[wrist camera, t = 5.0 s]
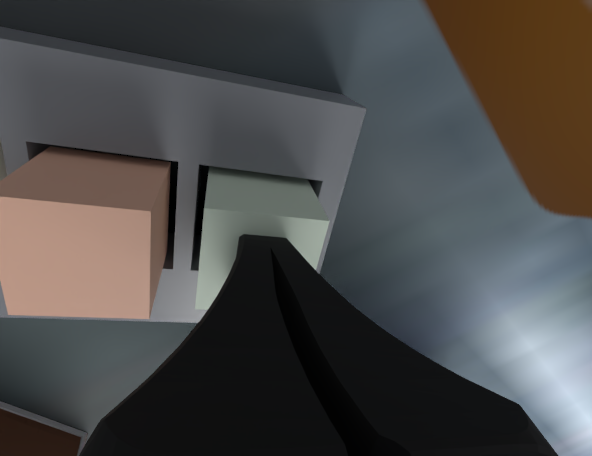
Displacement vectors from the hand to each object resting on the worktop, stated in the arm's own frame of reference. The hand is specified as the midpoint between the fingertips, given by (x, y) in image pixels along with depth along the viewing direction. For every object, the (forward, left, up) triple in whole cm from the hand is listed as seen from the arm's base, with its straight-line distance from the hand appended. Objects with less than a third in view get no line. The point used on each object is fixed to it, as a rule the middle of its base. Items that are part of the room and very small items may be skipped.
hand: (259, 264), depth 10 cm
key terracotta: (+5, 0, -3) cm, 5 cm away
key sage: (0, 0, -3) cm, 3 cm away
